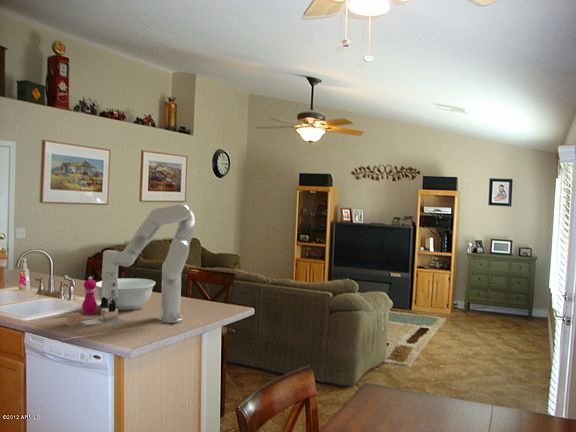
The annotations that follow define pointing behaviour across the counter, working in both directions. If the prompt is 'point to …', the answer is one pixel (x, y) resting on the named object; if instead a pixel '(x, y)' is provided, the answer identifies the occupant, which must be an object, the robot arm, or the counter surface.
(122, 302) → the bowl
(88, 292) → the pepper mill
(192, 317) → the counter surface
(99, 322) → the board
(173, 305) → the robot arm
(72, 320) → the terracotta cube
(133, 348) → the counter surface
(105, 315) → the maple block
